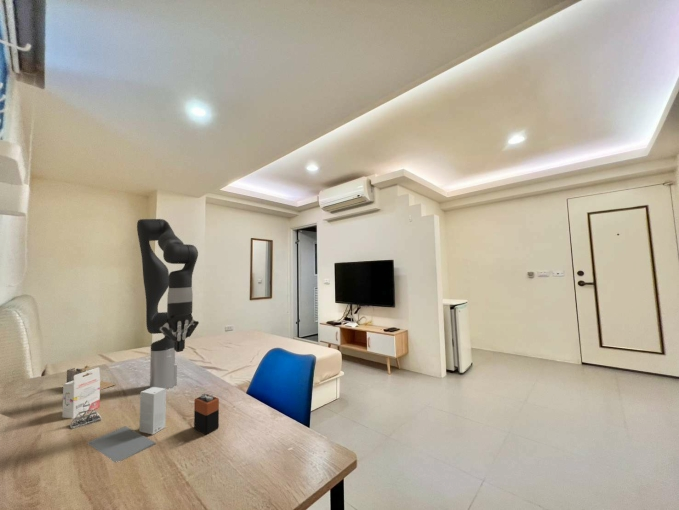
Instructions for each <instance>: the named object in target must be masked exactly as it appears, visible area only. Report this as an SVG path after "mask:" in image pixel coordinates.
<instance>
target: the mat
mask: <svg viewBox="0 0 679 510" xmlns="http://www.w3.org/2000/svg"><path fill="white" fill-rule="evenodd" d="M156 443H157V442H156V441H154V440H152V439H151V438H149V437H146V435H145V436H144V435H142V434H141V433H138V432H137V431H135V430H133V429H132V428H130V427H127V426H126V425H124V426H122V427H120V428H118V429H115V430H113V431H111V432H108V433H106V434H104V435H101V436H100V437H97V438H94V439H93V440H90V441H87V445H89V446H91V447H92V448H93V449H95V450H96V451H98V452H99V453H101V454H102V455H104V456H105V457H107V458H108V459H109V460H111V461H112V462H114V463H115V464H118V463H119V462H118V461H120V462H121V460H122V461H124V460H126V459H128V458H130V457H132V456H134V455H137V454H139V453H140V452H143V451H145V450H147V449H149V448H151V447H153V446H155V445H157V444H156ZM110 458H111V459H110ZM123 459H124V460H123ZM116 461H117V462H118V463H117V462H116Z"/></svg>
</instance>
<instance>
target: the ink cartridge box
mask: <svg viewBox="0 0 679 510" xmlns="http://www.w3.org/2000/svg"><path fill="white" fill-rule="evenodd" d="M87 373H88V374H89V375H88V376H85V377H83V376H84V375H86V374H87ZM100 373H101V372H100V367H95V368H92V369H87V370H86V371H85V372H82V373H80V374H76V375H74V381H71V382H68V383H62V384H63V388H62V415H61V417H62V418H64V419H65V418H67V419H72V420H73V419H74V418H75V417H76V416H77V414H78V413H79V412H83V411H87V410H90V409H94V410H97V409H98V408H100V405H101V404H100V403H101V401H100V399H101V390H100V381H101V374H100ZM86 401H88V402H89V403H90V408H89V406H86V407H83V405H84V404H85V402H86ZM88 402H86V404H85V405H88V404H89V403H88ZM85 405H84V406H85ZM84 413H85V412H84ZM84 413H81V414H80V415H81V416H83V414H84ZM88 413H91V411H88ZM80 415H78V416H77V417H80Z"/></svg>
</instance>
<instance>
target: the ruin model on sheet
mask: <svg viewBox="0 0 679 510" xmlns="http://www.w3.org/2000/svg"><path fill="white" fill-rule="evenodd" d="M89 369H90V365H89V366H88V364H86V365H85V366H84V369H81V368H76V367H73V368H70V369H67V370H66V383H68V382H71V381H74V375H76V374H80V373H82V372H85V371H87V370H89ZM88 375H90V373H89V374H88V373H87V374H86V375H84V376H83V377H85V376H88ZM63 384H64V383H62V384H61V385H63ZM115 385H116V384H115V383H111V382H106V381H102V380H100V391H101V390H103V389H107V388H110V387H112V386H115Z"/></svg>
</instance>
